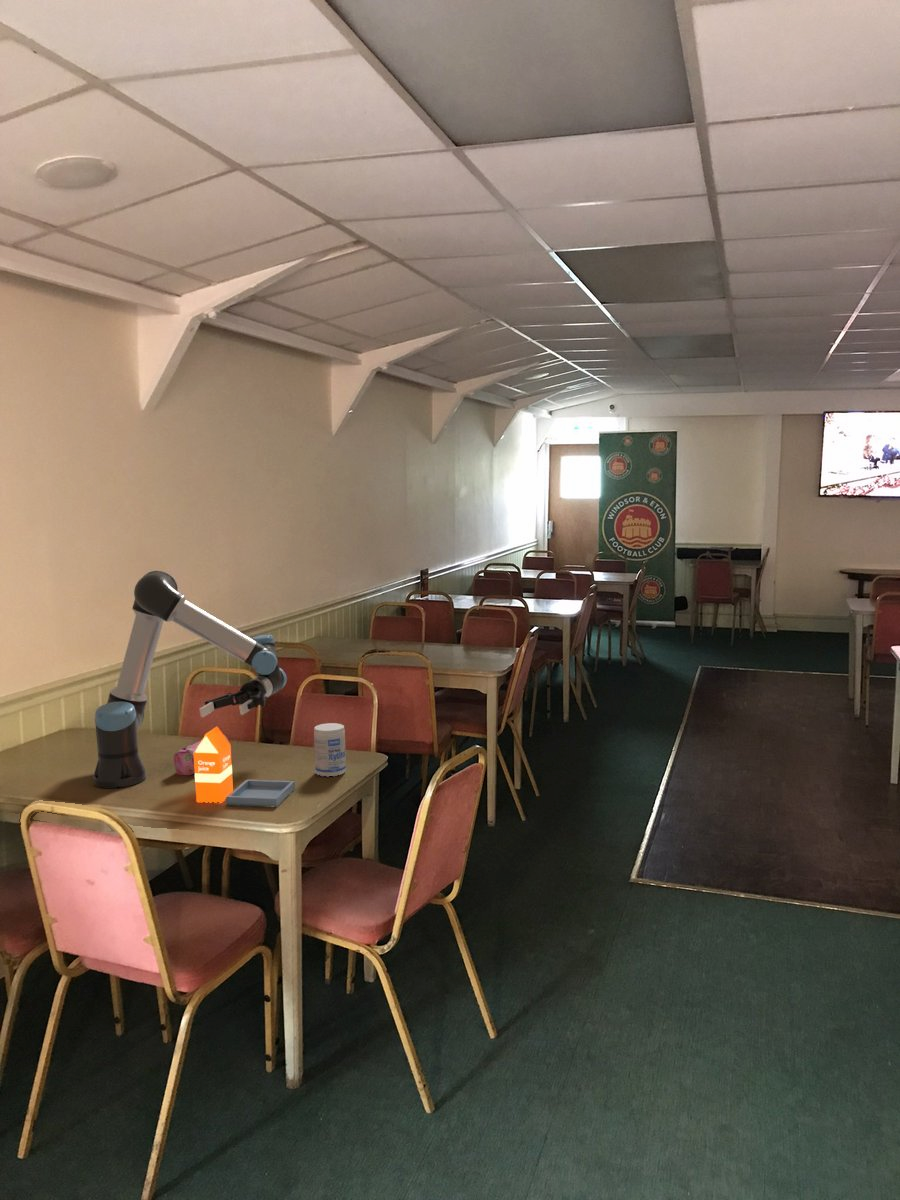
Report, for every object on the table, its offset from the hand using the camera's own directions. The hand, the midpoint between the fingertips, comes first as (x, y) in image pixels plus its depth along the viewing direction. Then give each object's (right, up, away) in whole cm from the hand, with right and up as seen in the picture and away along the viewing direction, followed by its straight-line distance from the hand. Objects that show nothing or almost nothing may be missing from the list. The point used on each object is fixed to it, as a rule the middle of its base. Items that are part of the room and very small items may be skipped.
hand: (220, 711), depth 272 cm
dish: (+14, -24, -8) cm, 28 cm away
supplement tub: (+31, -21, +13) cm, 40 cm away
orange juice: (0, -24, -7) cm, 25 cm away
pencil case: (-11, -21, +23) cm, 33 cm away
